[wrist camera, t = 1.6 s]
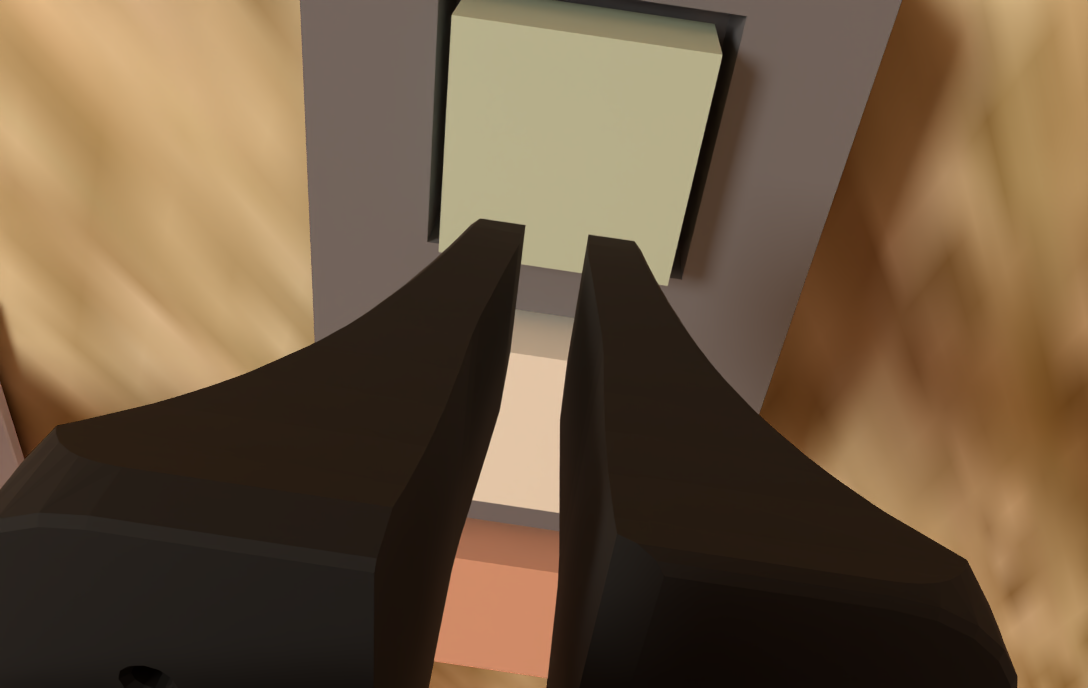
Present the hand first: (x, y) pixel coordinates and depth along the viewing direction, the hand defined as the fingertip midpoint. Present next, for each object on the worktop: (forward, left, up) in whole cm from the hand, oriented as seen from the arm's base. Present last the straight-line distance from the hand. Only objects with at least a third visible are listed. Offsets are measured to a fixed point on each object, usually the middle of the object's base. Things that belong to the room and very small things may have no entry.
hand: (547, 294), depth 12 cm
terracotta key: (0, -13, -6) cm, 14 cm away
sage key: (0, 0, -6) cm, 6 cm away
